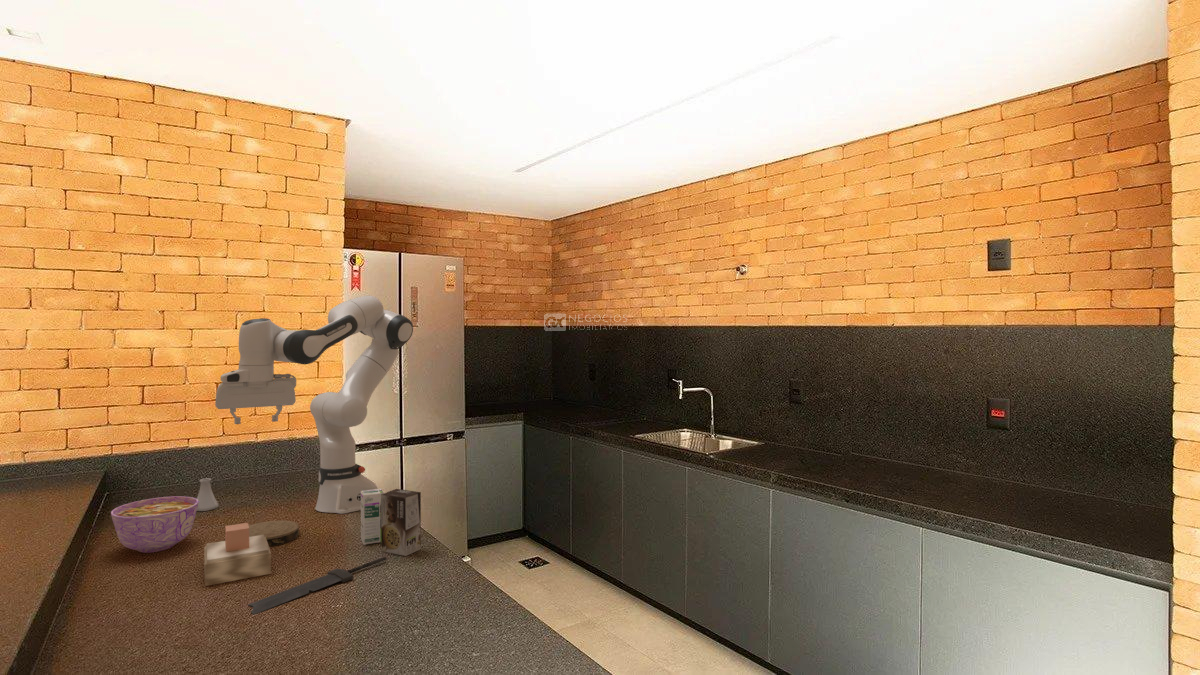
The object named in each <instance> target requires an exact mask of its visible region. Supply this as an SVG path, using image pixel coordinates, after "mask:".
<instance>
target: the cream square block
mask: <svg viewBox="0 0 1200 675" xmlns="http://www.w3.org/2000/svg"><path fill="white" fill-rule="evenodd" d="M205 544H206V545H205V546H204V547H203V554H204V556H203V562H204V563H203V565H204V567H203V568H204V569H203V570H204V571H203V572H204V586H205V587H208V586H213V585H218V584H223V583H228V582H234V581H238V580H239V581H241V580H243V579H244V580H245V579H248V578H255V577H260V576H265V575H266V576H267V575H270V574H272V552H271V548H270V547H269V545H268V542H267V539H266V537H264V535H258V536H252V537H249V548H245V549H239V550H233V551H227V552H226V546H225V540H222V541H215V542H214V541H213V542H208V543H205Z"/></svg>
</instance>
